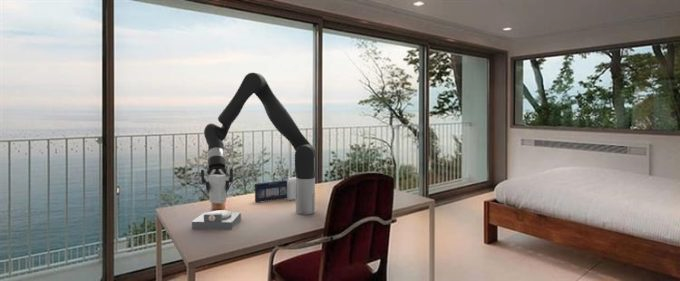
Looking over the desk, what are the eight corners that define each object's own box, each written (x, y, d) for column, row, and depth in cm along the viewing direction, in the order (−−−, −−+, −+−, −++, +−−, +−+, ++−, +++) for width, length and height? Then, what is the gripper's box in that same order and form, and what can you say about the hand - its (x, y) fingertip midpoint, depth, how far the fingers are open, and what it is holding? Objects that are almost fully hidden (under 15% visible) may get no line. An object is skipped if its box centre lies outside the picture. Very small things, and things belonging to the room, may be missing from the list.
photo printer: (302, 196, 217) (302, 175, 216) (305, 198, 214) (305, 176, 213) (285, 199, 212) (285, 177, 211) (289, 200, 208) (289, 178, 207)
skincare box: (226, 201, 170) (226, 175, 169) (220, 203, 166) (220, 176, 165) (215, 199, 172) (214, 173, 171) (209, 202, 168) (208, 175, 167)
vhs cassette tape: (256, 202, 204) (256, 184, 203) (254, 201, 207) (254, 183, 206) (288, 198, 213) (288, 181, 212) (286, 197, 216) (286, 180, 215)
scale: (240, 219, 175) (240, 206, 175) (231, 229, 161) (231, 215, 161) (204, 218, 175) (203, 205, 175) (192, 228, 162) (191, 214, 161)
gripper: (199, 155, 172) (200, 186, 162) (232, 154, 176) (235, 184, 167) (200, 165, 177) (200, 195, 167) (232, 163, 182) (234, 193, 172)
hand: (217, 190), depth 167 cm, fingers closed on skincare box, 7 cm apart
